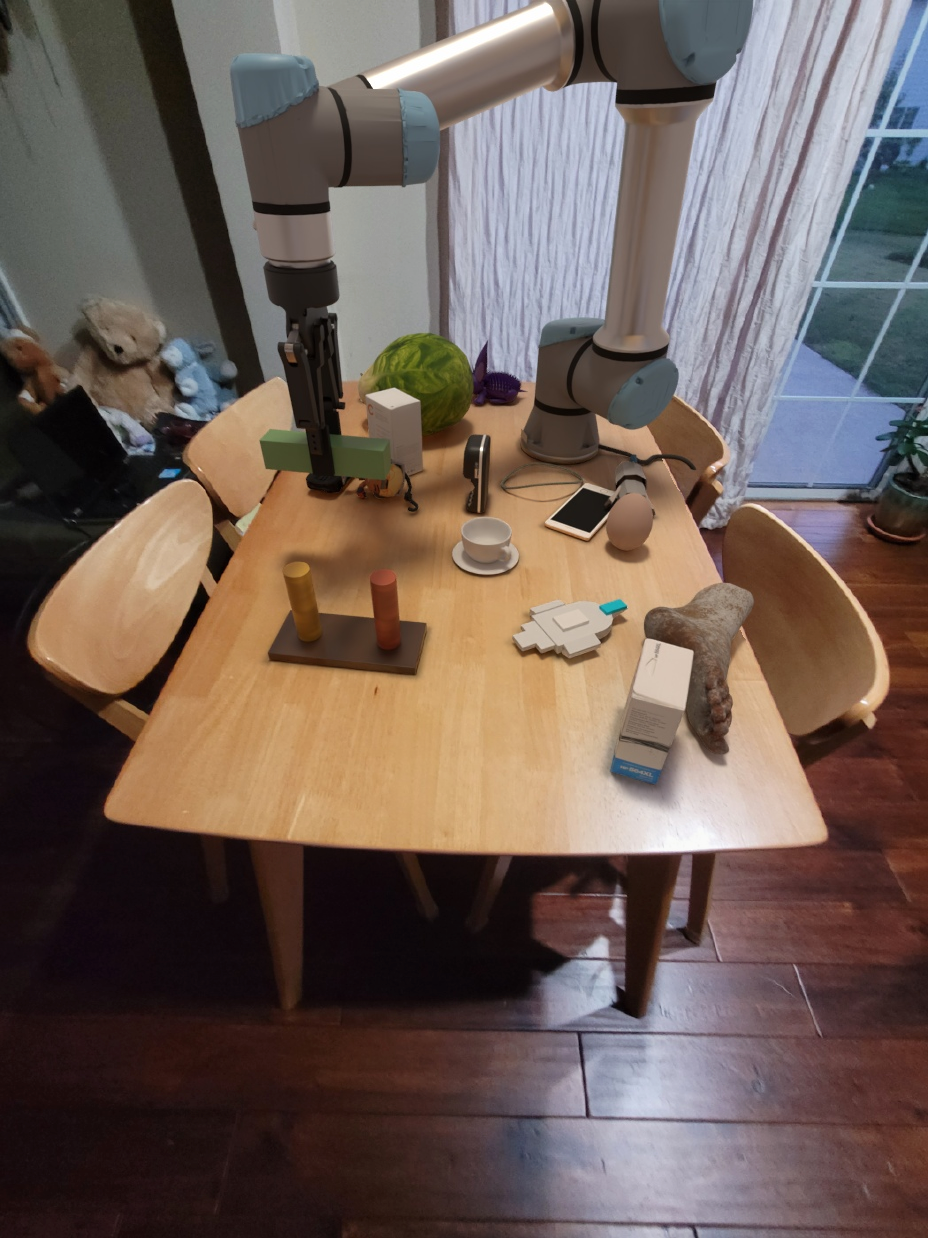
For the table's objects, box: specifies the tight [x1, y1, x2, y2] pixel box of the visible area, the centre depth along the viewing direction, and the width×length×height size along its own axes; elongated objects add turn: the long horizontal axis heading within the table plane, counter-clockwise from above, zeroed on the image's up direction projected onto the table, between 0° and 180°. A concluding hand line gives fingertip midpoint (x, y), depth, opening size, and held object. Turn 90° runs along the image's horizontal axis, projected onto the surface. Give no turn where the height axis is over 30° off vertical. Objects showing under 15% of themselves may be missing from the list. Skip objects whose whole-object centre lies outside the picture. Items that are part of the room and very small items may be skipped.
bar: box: [258, 428, 391, 480], centre depth 75 cm, size 16×4×4 cm, turn 82°
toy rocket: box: [511, 598, 629, 659], centre depth 74 cm, size 16×10×2 cm, turn 115°
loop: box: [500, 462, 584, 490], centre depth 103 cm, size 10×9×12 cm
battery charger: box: [462, 433, 492, 514], centre depth 95 cm, size 7×4×11 cm, turn 172°
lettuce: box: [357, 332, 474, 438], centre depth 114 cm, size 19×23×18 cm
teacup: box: [451, 516, 520, 575], centre depth 86 cm, size 10×10×5 cm
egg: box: [605, 493, 654, 551], centre depth 86 cm, size 7×7×9 cm
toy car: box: [305, 473, 352, 494], centre depth 102 cm, size 8×12×4 cm
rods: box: [267, 561, 428, 675], centre depth 69 cm, size 18×8×11 cm, turn 83°
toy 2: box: [604, 453, 657, 517], centre depth 96 cm, size 9×6×15 cm
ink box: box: [609, 638, 694, 785], centre depth 58 cm, size 9×5×12 cm, turn 158°
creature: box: [471, 339, 529, 406], centre depth 128 cm, size 9×18×12 cm, turn 96°
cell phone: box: [544, 482, 618, 541], centre depth 97 cm, size 8×16×1 cm, turn 147°
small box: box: [365, 388, 424, 477], centre depth 103 cm, size 8×6×13 cm
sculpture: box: [643, 582, 755, 755], centre depth 67 cm, size 8×22×15 cm
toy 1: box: [355, 459, 420, 513], centre depth 97 cm, size 8×9×15 cm
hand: (329, 466), depth 76 cm, fingers closed on bar, 3 cm apart
